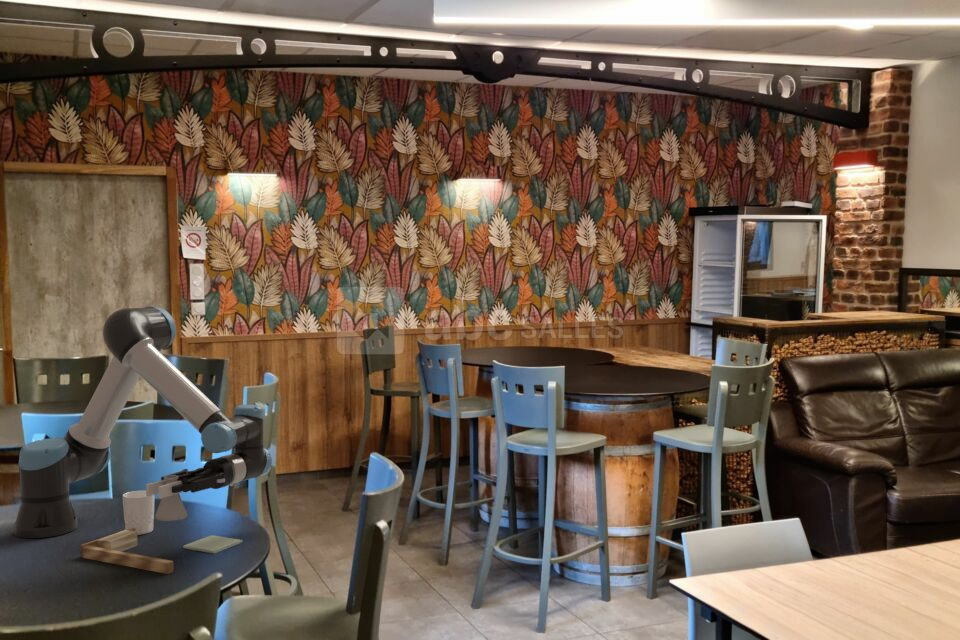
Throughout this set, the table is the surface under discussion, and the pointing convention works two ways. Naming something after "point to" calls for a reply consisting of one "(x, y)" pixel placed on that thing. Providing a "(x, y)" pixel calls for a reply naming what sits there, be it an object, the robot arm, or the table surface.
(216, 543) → the coaster
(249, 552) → the table surface
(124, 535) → the offcut top
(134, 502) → the white cup
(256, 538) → the table surface
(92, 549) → the corner fence
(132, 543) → the offcut low
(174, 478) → the flask
